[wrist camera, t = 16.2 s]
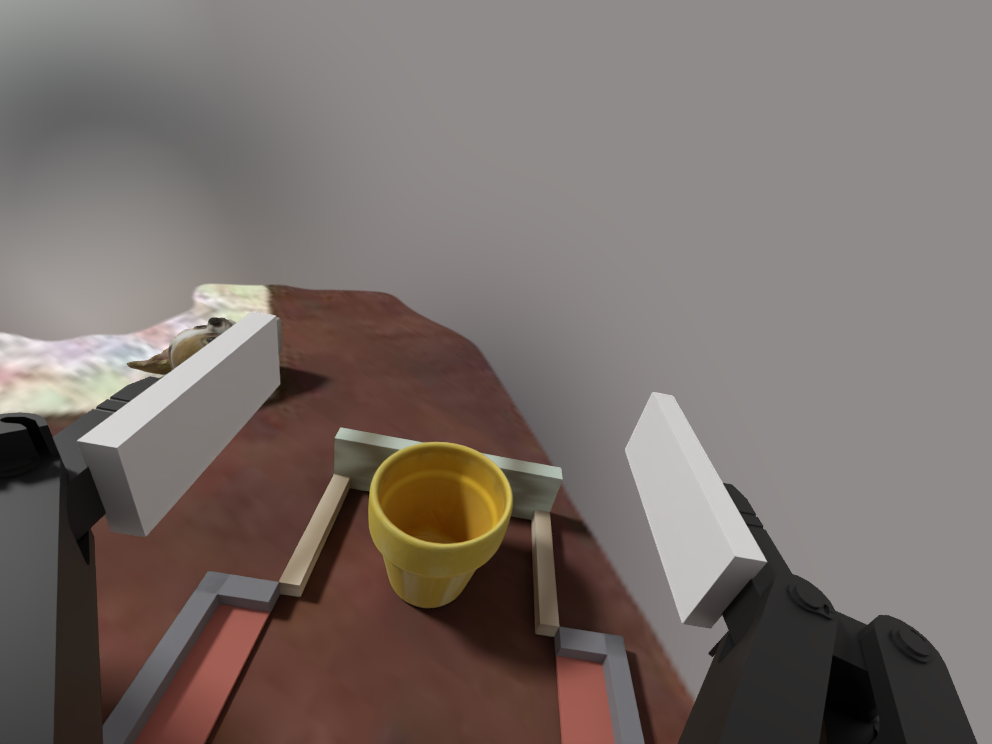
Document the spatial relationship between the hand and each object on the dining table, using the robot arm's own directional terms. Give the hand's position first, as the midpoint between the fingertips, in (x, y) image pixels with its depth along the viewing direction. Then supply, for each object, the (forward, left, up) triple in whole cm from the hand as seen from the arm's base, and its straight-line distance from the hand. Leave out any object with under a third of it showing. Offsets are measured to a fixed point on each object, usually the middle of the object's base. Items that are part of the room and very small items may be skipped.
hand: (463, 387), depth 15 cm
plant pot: (0, +10, -25) cm, 27 cm away
